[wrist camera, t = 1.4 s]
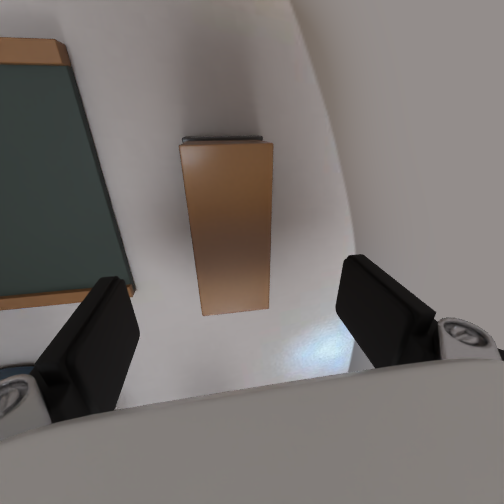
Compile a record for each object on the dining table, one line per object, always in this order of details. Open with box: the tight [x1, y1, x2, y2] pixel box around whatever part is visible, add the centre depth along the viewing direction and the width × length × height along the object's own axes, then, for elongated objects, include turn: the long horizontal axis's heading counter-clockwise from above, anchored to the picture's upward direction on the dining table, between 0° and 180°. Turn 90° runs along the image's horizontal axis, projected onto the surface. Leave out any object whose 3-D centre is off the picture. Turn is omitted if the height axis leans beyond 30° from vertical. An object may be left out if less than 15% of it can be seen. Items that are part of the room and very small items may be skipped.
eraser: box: [179, 136, 273, 316], centre depth 16 cm, size 11×5×5 cm, turn 1°
